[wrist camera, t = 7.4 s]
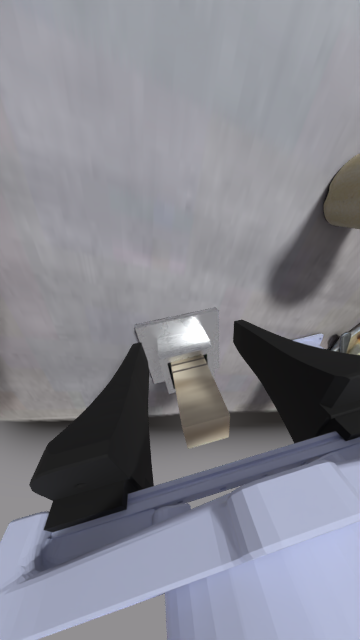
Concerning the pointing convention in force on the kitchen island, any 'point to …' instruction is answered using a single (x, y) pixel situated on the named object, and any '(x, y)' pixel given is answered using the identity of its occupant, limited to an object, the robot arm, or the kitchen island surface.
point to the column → (199, 402)
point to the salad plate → (349, 342)
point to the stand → (180, 342)
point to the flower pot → (345, 196)
